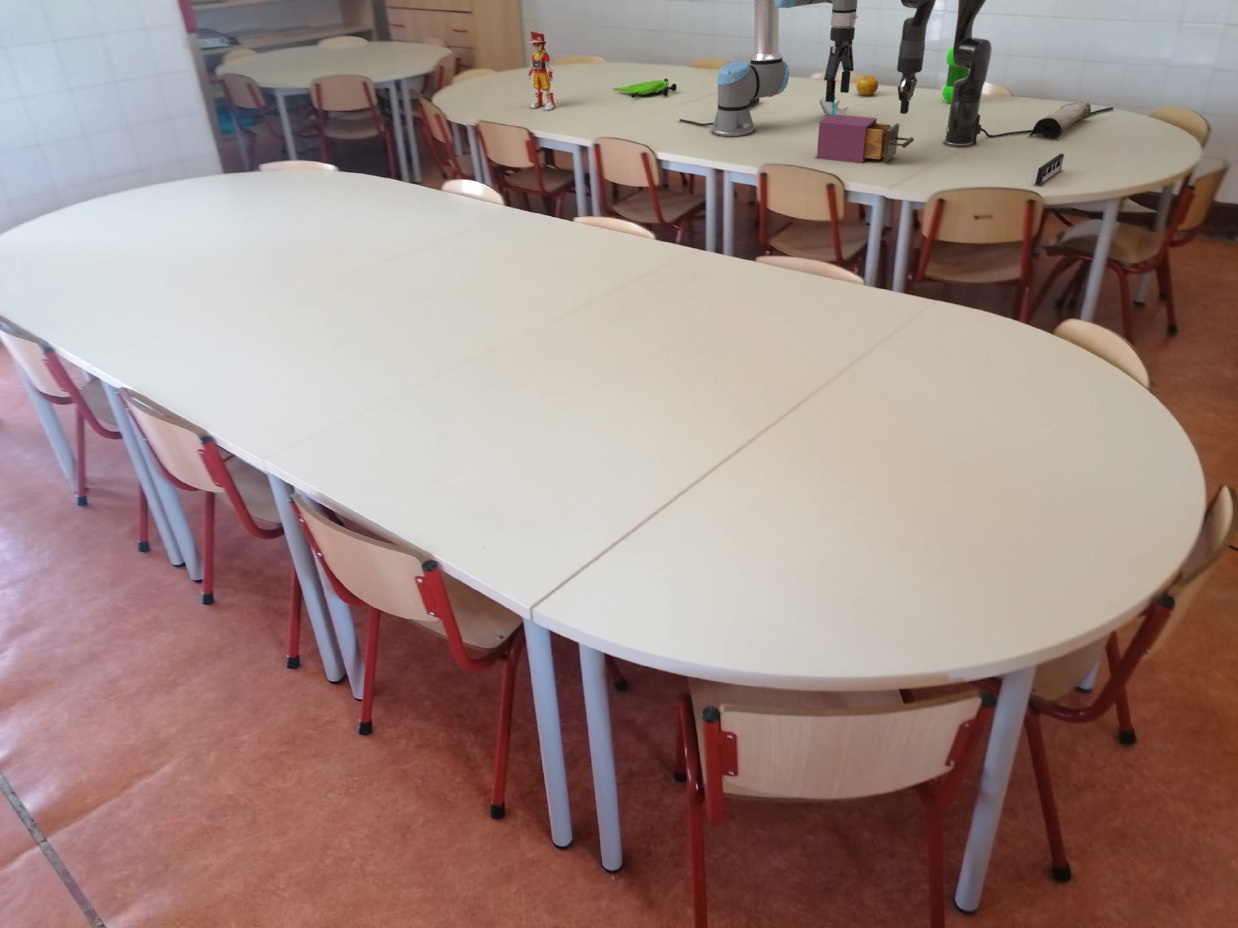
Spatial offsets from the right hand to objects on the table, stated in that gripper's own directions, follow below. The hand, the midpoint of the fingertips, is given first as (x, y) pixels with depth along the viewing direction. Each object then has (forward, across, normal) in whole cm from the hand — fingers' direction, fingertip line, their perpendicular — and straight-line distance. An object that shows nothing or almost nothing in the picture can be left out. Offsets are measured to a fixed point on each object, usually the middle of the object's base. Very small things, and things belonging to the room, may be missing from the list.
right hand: (903, 113), depth 287 cm
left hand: (-3, 0, +23) cm, 23 cm away
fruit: (+15, +84, +40) cm, 94 cm away
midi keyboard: (+15, 0, -46) cm, 49 cm away
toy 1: (+15, +20, +160) cm, 162 cm away
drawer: (+14, 0, +7) cm, 16 cm away
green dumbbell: (+15, +83, +4) cm, 85 cm away
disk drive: (+15, +50, +81) cm, 97 cm away
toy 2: (+15, +59, +133) cm, 147 cm away
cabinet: (+15, 0, +18) cm, 24 cm away
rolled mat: (+15, +58, -40) cm, 72 cm away
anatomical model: (+15, +44, +39) cm, 61 cm away
